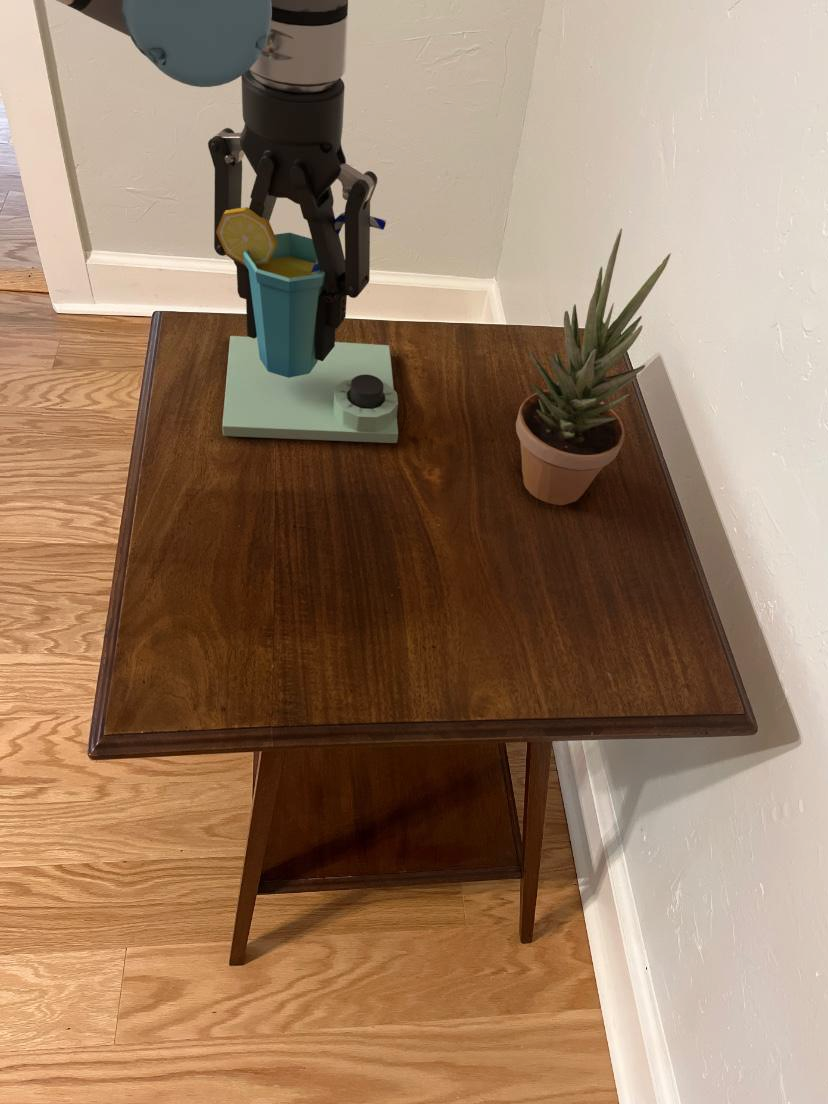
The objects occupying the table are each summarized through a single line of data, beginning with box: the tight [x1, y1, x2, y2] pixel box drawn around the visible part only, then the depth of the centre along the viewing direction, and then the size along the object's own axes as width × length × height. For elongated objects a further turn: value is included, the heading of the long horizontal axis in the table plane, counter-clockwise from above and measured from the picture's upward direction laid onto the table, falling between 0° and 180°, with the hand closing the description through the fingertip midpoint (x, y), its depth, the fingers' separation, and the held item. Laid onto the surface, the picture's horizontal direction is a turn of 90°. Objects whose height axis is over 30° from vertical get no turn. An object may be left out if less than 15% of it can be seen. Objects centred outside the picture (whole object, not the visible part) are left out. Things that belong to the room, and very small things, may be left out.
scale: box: [221, 335, 399, 444], centre depth 88 cm, size 16×14×3 cm
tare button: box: [350, 375, 383, 409], centre depth 84 cm, size 3×3×2 cm
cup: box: [216, 206, 387, 378], centre depth 80 cm, size 14×8×15 cm, turn 96°
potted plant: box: [515, 227, 672, 506], centre depth 76 cm, size 10×10×25 cm
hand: (291, 340), depth 84 cm, fingers closed on cup, 6 cm apart
